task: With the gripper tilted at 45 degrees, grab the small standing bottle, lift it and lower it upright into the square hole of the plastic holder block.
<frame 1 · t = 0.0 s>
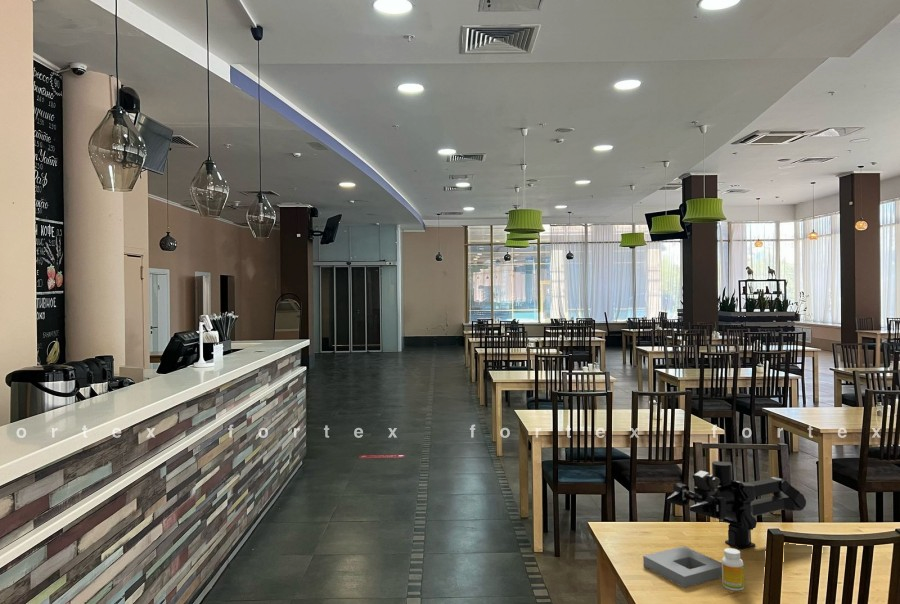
hand: (678, 504, 185), 17 cm above the table, tool horizontal, fingers open, 9 cm apart
holder: (689, 573, 175), on the table
supplement bottle: (733, 587, 166), on the table
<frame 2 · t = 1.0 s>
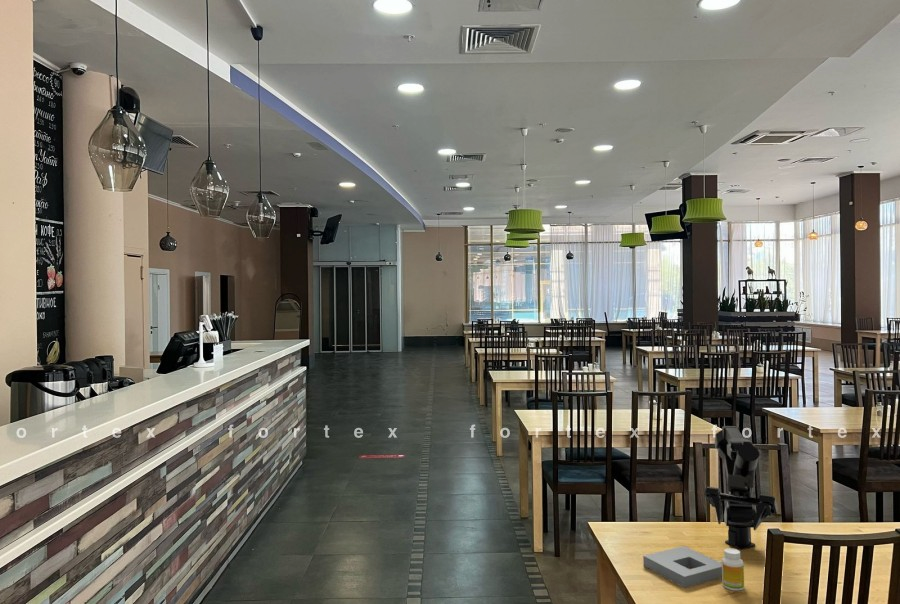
hand: (736, 526, 173), 14 cm above the table, tool tilted 45°, fingers open, 9 cm apart
nothing on the table moved.
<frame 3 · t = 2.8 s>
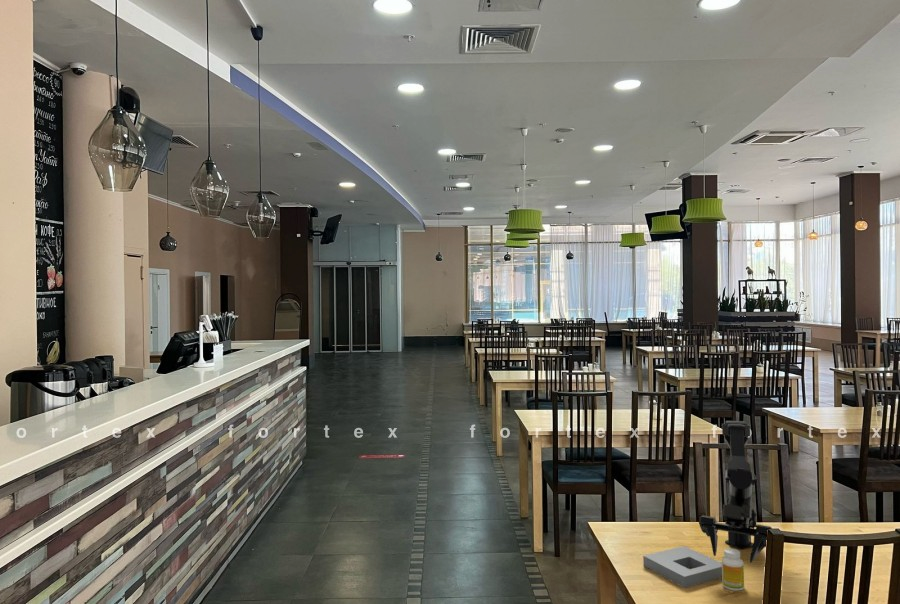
hand: (732, 558, 166), 8 cm above the table, tool tilted 45°, fingers open, 9 cm apart
nothing on the table moved.
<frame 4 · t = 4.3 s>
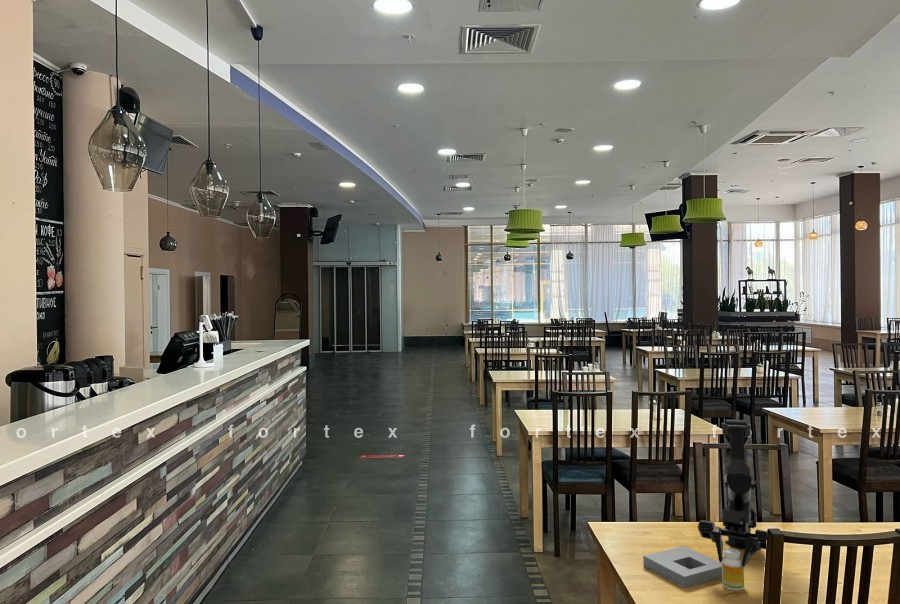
hand: (731, 564, 165), 7 cm above the table, tool tilted 45°, fingers closed on supplement bottle, 5 cm apart
supplement bottle: (733, 587, 166), on the table, touching gripper
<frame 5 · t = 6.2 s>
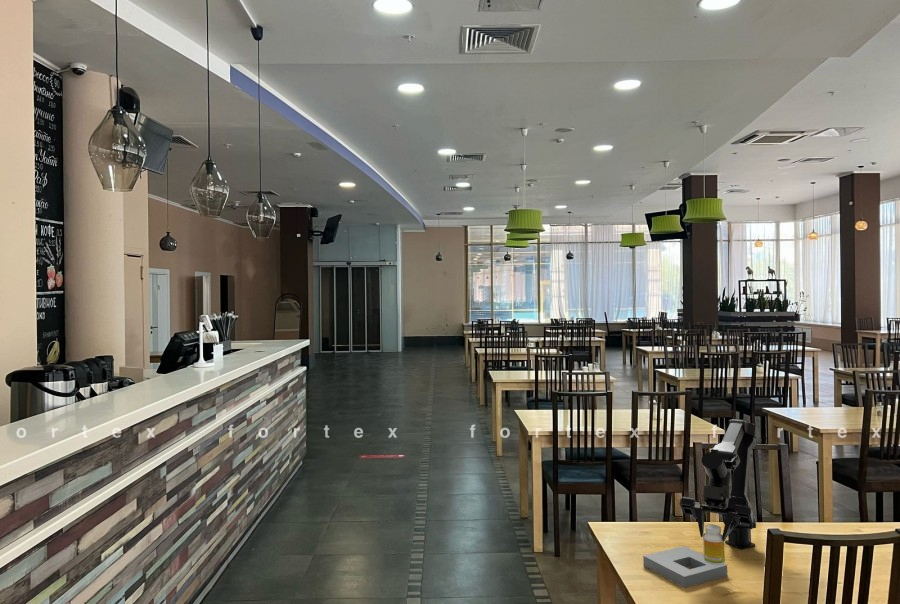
hand: (712, 538, 169), 12 cm above the table, tool tilted 45°, fingers closed on supplement bottle, 5 cm apart
supplement bottle: (714, 562, 170), point 5 cm above the table, touching gripper
when the fingers open (8 cm above the table, at t = 8.5 s): supplement bottle stays where it is, resting in holder.
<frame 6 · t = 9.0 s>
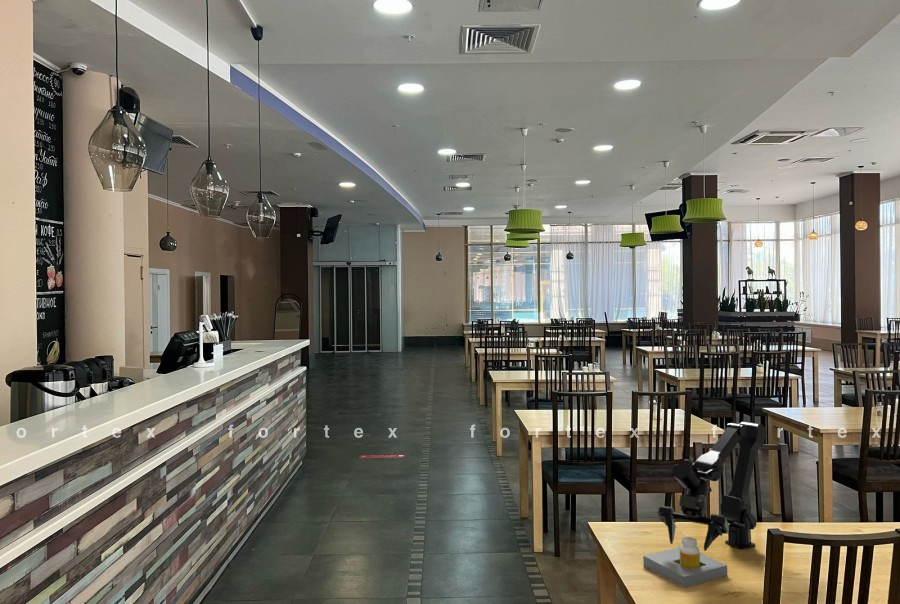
hand: (687, 546, 174), 8 cm above the table, tool tilted 45°, fingers open, 9 cm apart
supplement bottle: (690, 574, 175), resting in holder
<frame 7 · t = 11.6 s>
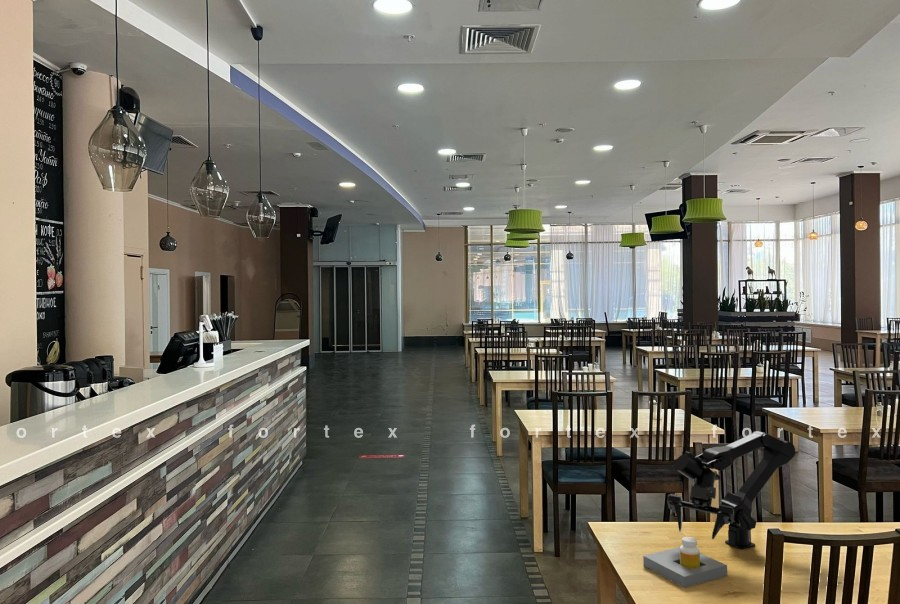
hand: (696, 534, 182), 8 cm above the table, tool tilted 40°, fingers open, 9 cm apart
nothing on the table moved.
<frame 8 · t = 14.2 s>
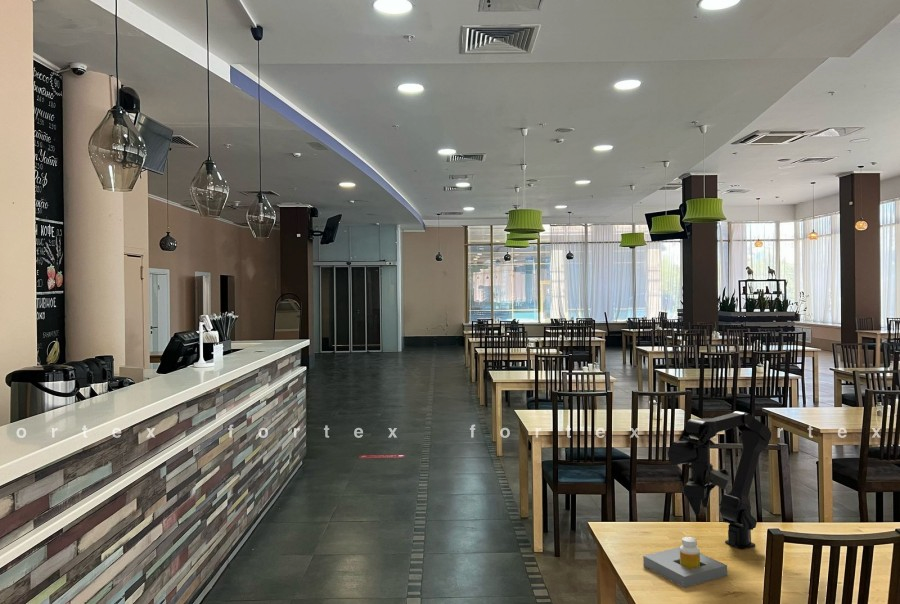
hand: (701, 511, 189), 13 cm above the table, tool pointing down, fingers open, 9 cm apart
nothing on the table moved.
at the end: supplement bottle 0.2 cm off-centre on the holder, point 0.0 cm above the holder's base; supplement bottle tilted 0°; the gripper is holding nothing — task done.
